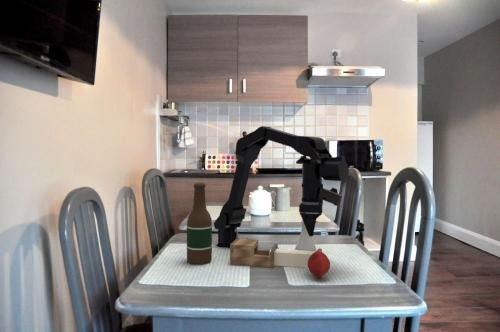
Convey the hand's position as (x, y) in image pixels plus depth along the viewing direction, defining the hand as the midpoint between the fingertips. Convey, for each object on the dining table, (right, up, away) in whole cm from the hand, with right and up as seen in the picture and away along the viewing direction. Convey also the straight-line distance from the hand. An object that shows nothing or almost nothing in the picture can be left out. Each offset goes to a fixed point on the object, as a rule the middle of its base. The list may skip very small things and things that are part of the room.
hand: (311, 232), depth 105 cm
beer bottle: (-34, -10, +5) cm, 35 cm away
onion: (0, -10, -10) cm, 14 cm away
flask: (+1, -10, +19) cm, 21 cm away
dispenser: (-16, -10, +4) cm, 19 cm away
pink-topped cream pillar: (-5, -10, +2) cm, 11 cm away
